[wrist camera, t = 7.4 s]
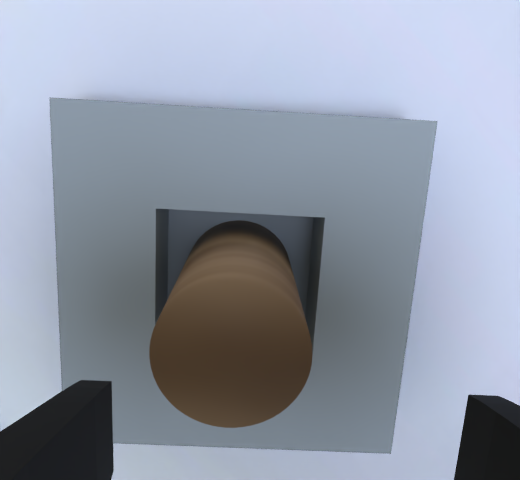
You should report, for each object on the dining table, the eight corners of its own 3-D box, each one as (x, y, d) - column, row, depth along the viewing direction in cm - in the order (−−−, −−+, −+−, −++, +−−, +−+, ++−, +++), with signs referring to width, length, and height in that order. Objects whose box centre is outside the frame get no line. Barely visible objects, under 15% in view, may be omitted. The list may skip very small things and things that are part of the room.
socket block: (370, 407, 20) (390, 453, 18) (91, 395, 20) (64, 441, 17) (406, 122, 18) (437, 121, 15) (83, 102, 17) (49, 97, 14)
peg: (289, 317, 19) (311, 426, 12) (190, 319, 19) (154, 429, 12) (290, 219, 18) (313, 277, 11) (185, 221, 18) (143, 280, 11)
